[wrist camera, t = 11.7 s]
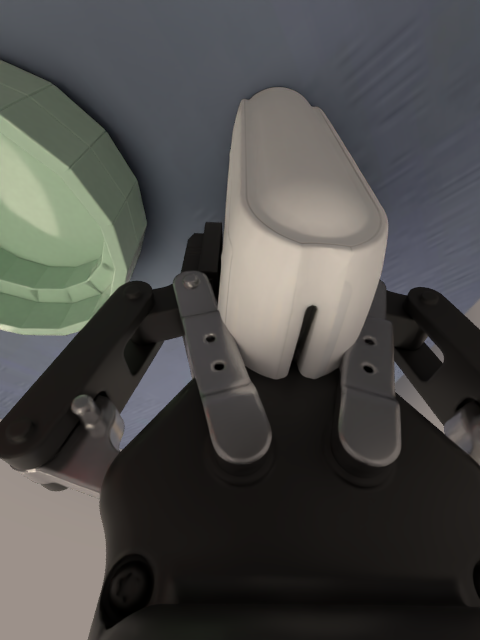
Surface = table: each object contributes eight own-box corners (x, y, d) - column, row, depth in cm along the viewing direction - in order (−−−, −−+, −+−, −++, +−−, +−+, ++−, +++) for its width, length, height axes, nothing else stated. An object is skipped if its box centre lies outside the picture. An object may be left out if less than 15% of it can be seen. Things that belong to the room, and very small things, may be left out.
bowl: (-185, 46, 13) (-343, 68, 9) (114, 53, 13) (67, 77, 9) (-13, 279, 22) (-61, 333, 18) (163, 282, 22) (148, 337, 18)
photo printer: (284, 275, 21) (313, 466, 13) (221, 270, 21) (207, 462, 12) (331, 90, 14) (476, 258, 5) (233, 79, 13) (217, 236, 5)
